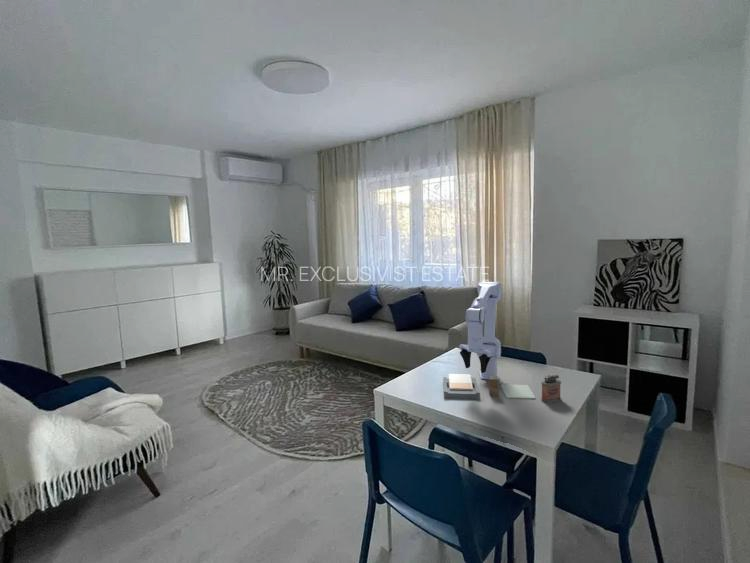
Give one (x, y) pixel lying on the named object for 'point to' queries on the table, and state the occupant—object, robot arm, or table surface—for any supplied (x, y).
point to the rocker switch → (460, 382)
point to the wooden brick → (493, 385)
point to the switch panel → (461, 391)
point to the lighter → (551, 389)
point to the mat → (517, 391)
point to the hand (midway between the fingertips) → (475, 369)
